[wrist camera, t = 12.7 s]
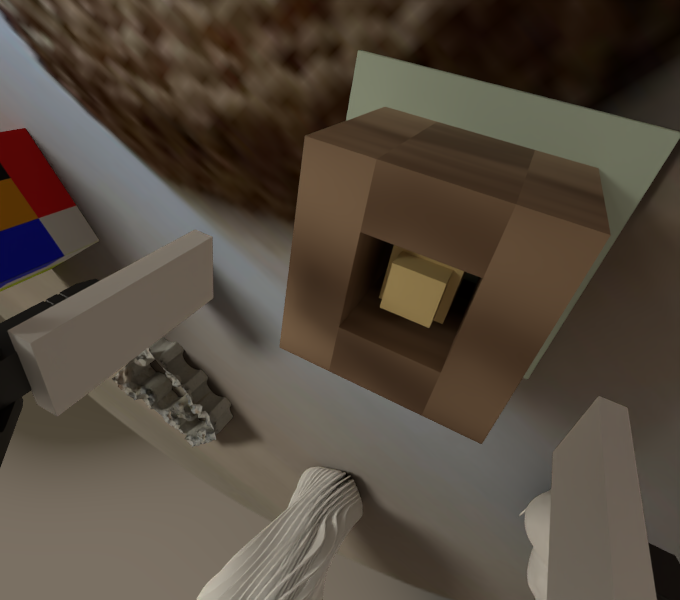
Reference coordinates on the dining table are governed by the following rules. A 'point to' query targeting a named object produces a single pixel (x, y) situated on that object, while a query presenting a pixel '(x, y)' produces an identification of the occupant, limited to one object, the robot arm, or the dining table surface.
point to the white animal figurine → (538, 543)
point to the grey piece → (162, 399)
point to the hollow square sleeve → (436, 259)
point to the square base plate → (515, 127)
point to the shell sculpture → (293, 544)
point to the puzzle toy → (34, 213)
